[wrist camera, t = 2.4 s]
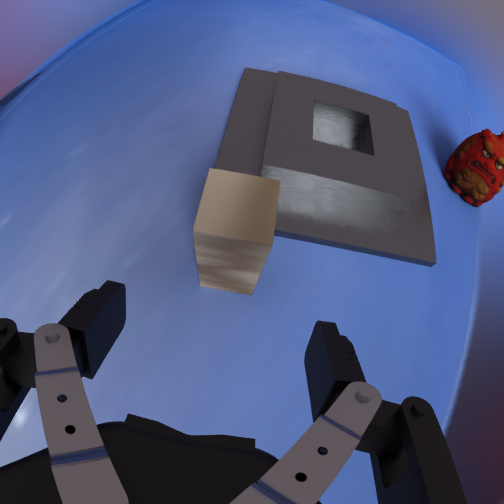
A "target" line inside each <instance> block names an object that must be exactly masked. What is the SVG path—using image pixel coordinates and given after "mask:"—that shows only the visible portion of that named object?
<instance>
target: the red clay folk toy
mask: <svg viewBox="0 0 504 504" xmlns="http://www.w3.org/2000/svg"><path fill="white" fill-rule="evenodd" d="M444 175H445V179H446V180H447V181H448V182H449V183H450V185H451V187H452V189H453V191H455V192H456V193H457V194H460V195H461V196H462V197H463V198H464V200H465V201H466V202H467V203H469V204H470V205H472V206H474V207H479V206H480V205H482V204H483V203H485V202H488V201H489V200H491V199H492V198H493V197H494V196H495V194H497V193H498V192H500V190H501V188H502V186H503V185H504V131H503V132H502V133H501V135H495V134H493V133H492V132H491V131H490V130H489V129H486V130H482V132H479V133H476V134H474V135H472V136H470V137H468V138H466V139H465V140H464V141H463V142H462V143H461V144H460V145H459V146H458V147H457V148H456V150H455V152H453V153H452V154H451V156H450V157H449V159H448V161H447V164H446V168H445V172H444Z"/></svg>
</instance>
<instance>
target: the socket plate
mask: <svg viewBox="0 0 504 504" xmlns="http://www.w3.org/2000/svg"><path fill="white" fill-rule="evenodd" d="M215 169H219V170H225V171H231V172H237V173H243V174H248V175H254V176H259V177H264V178H270V179H275V180H280V181H281V182H280V190H279V198H278V206H277V214H276V222H275V229H274V235H275V236H280V237H285V238H291V239H296V240H301V241H306V242H311V243H317V244H322V245H327V246H332V247H337V248H342V249H347V250H352V251H357V252H362V253H367V254H372V255H377V256H382V257H387V258H391V259H396V260H401V261H406V262H411V263H415V264H420V265H425V266H429V267H431V266H433V265H434V264H436V252H435V243H434V234H433V226H432V219H431V212H430V206H429V200H428V194H427V189H426V183H425V178H424V173H423V168H422V164H421V159H420V155H419V151H418V146H417V142H416V138H415V134H414V131H413V127H412V123H411V120H410V116H409V113H408V111H407V110H405V109H402V108H399V107H397V105H396V104H395V103H393V102H390V101H387V100H384V99H381V98H378V97H375V96H372V95H369V94H366V93H363V92H360V91H357V90H353V89H350V88H347V87H343V86H340V85H336V84H333V83H329V82H325V81H321V80H317V79H313V78H309V77H305V76H300V75H296V74H291V73H287V72H282V71H278V73H273V72H268V71H262V70H257V69H251V68H245V71H244V74H243V77H242V80H241V83H240V86H239V89H238V92H237V95H236V98H235V102H234V105H233V108H232V111H231V115H230V118H229V121H228V125H227V128H226V131H225V135H224V138H223V141H222V145H221V148H220V152H219V155H218V159H217V162H216V166H215Z"/></svg>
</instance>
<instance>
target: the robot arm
mask: <svg viewBox="0 0 504 504" xmlns="http://www.w3.org/2000/svg"><path fill="white" fill-rule="evenodd" d="M125 320H126V288H125V285H124V284H122V283H118V282H114V281H109V280H107V281H106V282H105V283H104V284H103V285H102V286H101V287H100V288H99V290H98V289H93V290H91V291H89V292H87V293H85V294H84V295H83V296H82V297H81V298H80V299H79V301H77V302H76V304H75V305H74V307H72V308H71V309H70V310H69V311H68V312H67V313H66V315H65V316H64V317H63V318H62V319H61V320H60V321H59V322H58V323H57V324H55V323H52V324H46V325H43V326H41V327H39V328H38V329H37V330H36V332H35V333H26V332H18V329H17V326H16V323H15V322H14V321H13V320H11V319H7V318H0V441H1V439H2V437H3V435H4V434H5V432H6V430H7V428H8V426H9V425H10V423H11V421H12V419H13V417H14V416H15V414H16V412H17V410H18V409H19V407H20V405H21V404H22V402H23V400H24V399H25V397H26V395H27V394H28V392H29V390H30V389H31V387H32V388H37V395H38V401H39V407H40V412H41V418H42V423H43V428H44V432H45V437H46V441H47V445H48V448H45V449H43V450H41V451H38V452H36V453H34V454H31V455H29V456H27V457H24V458H22V459H20V460H17V461H15V462H12V463H10V464H7V465H5V466H2V467H0V504H322V503H321V502H320V501H319V499H320V498H321V496H322V495H323V494H324V492H325V491H326V490H327V488H328V487H329V486H330V484H331V483H332V482H333V480H334V479H335V477H336V476H337V475H338V473H339V472H340V470H341V469H342V468H343V466H344V465H345V463H346V462H347V460H348V459H349V457H350V456H351V454H352V453H353V451H354V450H359V451H363V452H367V453H370V457H371V463H372V468H373V474H374V480H375V486H376V492H377V499H378V504H467V502H466V498H465V495H464V492H463V489H462V486H461V483H460V480H459V477H458V474H457V471H456V468H455V465H454V462H453V459H452V457H451V454H450V451H449V449H448V446H447V443H446V440H445V438H444V435H443V433H442V430H441V428H440V425H439V423H438V420H437V418H436V415H435V413H434V410H433V408H432V407H431V405H430V404H429V403H428V402H427V401H425V400H424V399H422V398H419V397H414V396H412V397H408V398H406V399H404V401H403V402H402V404H401V405H399V404H396V403H392V402H388V401H385V400H382V397H381V394H380V392H379V391H378V390H377V389H376V388H375V387H374V386H372V385H370V384H368V383H366V380H365V377H364V374H363V372H362V369H361V366H360V363H359V361H358V358H357V355H356V354H355V353H356V352H355V350H354V347H353V344H352V343H351V342H350V341H349V340H348V339H347V337H346V336H342V335H340V334H339V331H338V329H337V326H336V324H335V323H332V322H325V321H317V322H316V324H315V326H314V329H313V332H312V335H311V338H310V340H309V343H308V346H307V349H306V352H305V359H304V363H305V370H306V376H307V383H308V390H309V396H310V403H311V410H312V417H313V424H312V425H311V427H310V428H309V429H308V430H307V431H306V432H305V433H304V434H303V436H302V437H301V438H300V439H299V440H298V441H297V442H296V443H295V444H294V445H293V446H292V447H291V448H290V449H289V451H288V452H287V453H286V454H285V455H284V456H283V457H282V458H281V459H280V460H278V459H277V458H275V457H274V456H272V455H271V454H269V453H267V452H265V451H262V450H260V449H257V448H255V439H251V438H243V437H236V436H229V435H187V434H184V433H182V432H180V431H177V430H175V429H173V428H171V427H169V426H166V425H164V424H162V423H160V422H158V421H154V420H150V419H146V418H142V417H139V416H135V415H132V414H128V415H127V417H126V420H125V422H122V421H117V422H106V423H102V424H98V425H96V423H95V420H94V417H93V415H92V412H91V409H90V406H89V403H88V400H87V396H86V393H85V390H84V387H83V383H82V380H81V378H82V377H86V378H89V379H93V378H94V376H95V374H96V372H97V371H98V369H99V367H100V366H101V364H102V362H103V361H104V359H105V357H106V356H107V354H108V352H109V351H110V349H111V347H112V346H113V344H114V342H115V341H116V339H117V338H118V336H119V334H120V333H121V331H122V329H123V327H124V325H125Z"/></svg>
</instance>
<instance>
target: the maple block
mask: <svg viewBox="0 0 504 504" xmlns="http://www.w3.org/2000/svg"><path fill="white" fill-rule="evenodd" d="M280 182H281V181H280V180H275V179H270V178H264V177H259V176H254V175H248V174H243V173H237V172H231V171H225V170H219V169H213V168H210V169H209V172H208V176H207V179H206V183H205V186H204V190H203V194H202V197H201V201H200V205H199V208H198V212H197V216H196V220H195V224H194V227H193V238H194V245H195V252H196V259H197V266H198V273H199V279H200V286H203V287H209V288H214V289H219V290H225V291H230V292H236V293H242V294H247V295H252V293H253V290H254V288H255V286H256V283H257V281H258V279H259V276H260V274H261V271H262V269H263V267H264V264H265V262H266V259H267V257H268V255H269V252H270V250H271V247H272V244H273V237H274V229H275V222H276V214H277V206H278V198H279V190H280Z"/></svg>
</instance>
